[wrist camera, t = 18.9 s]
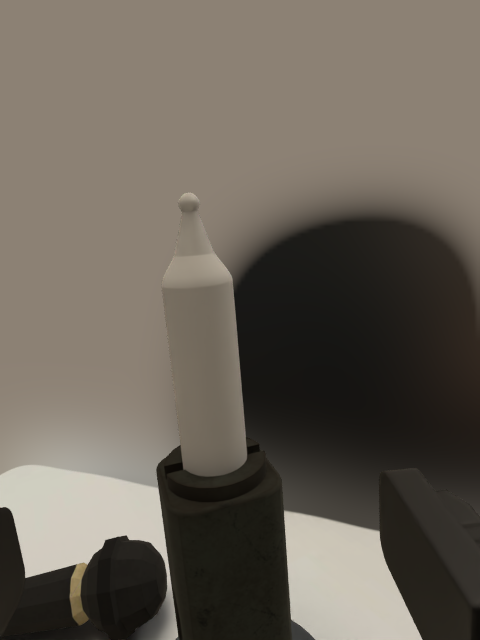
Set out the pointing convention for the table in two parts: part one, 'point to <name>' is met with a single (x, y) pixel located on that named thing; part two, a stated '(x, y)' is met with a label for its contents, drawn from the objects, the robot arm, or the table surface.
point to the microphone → (96, 592)
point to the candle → (216, 463)
